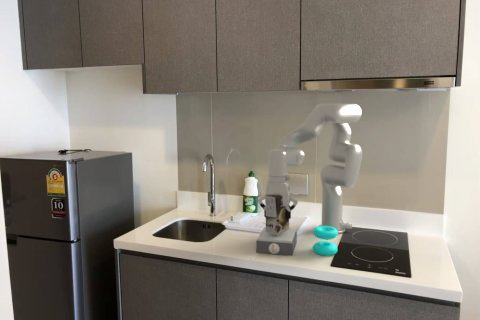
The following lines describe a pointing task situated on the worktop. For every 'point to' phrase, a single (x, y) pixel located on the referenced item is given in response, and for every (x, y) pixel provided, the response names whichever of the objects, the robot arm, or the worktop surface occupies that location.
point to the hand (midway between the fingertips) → (277, 219)
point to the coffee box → (276, 215)
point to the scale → (277, 242)
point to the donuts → (325, 246)
